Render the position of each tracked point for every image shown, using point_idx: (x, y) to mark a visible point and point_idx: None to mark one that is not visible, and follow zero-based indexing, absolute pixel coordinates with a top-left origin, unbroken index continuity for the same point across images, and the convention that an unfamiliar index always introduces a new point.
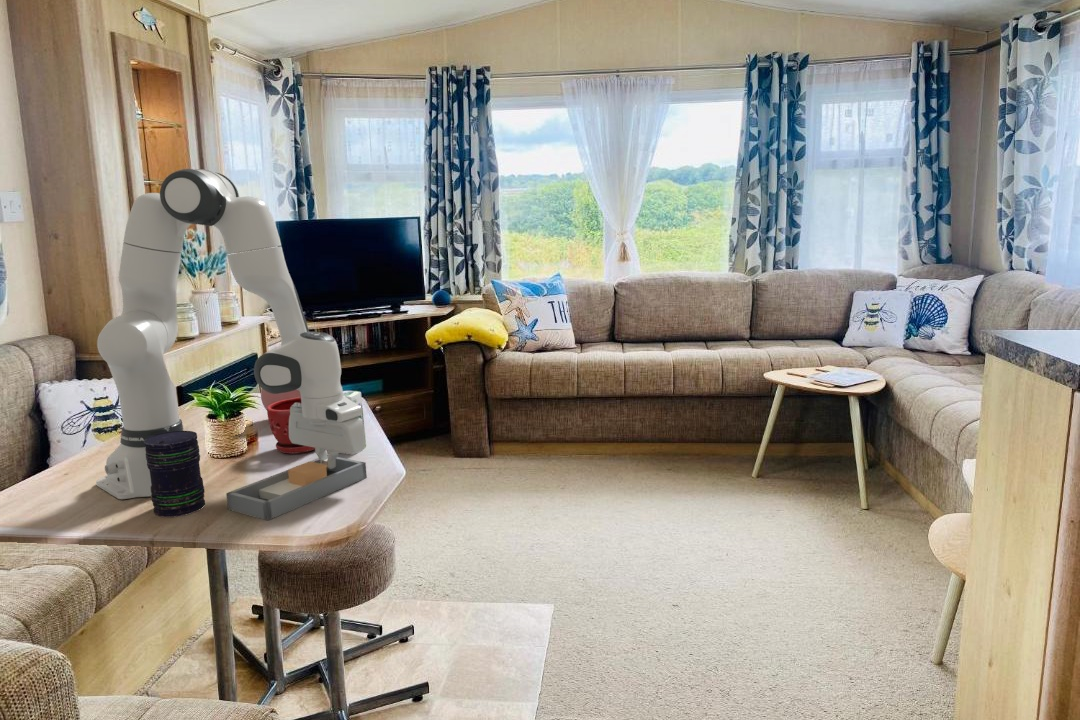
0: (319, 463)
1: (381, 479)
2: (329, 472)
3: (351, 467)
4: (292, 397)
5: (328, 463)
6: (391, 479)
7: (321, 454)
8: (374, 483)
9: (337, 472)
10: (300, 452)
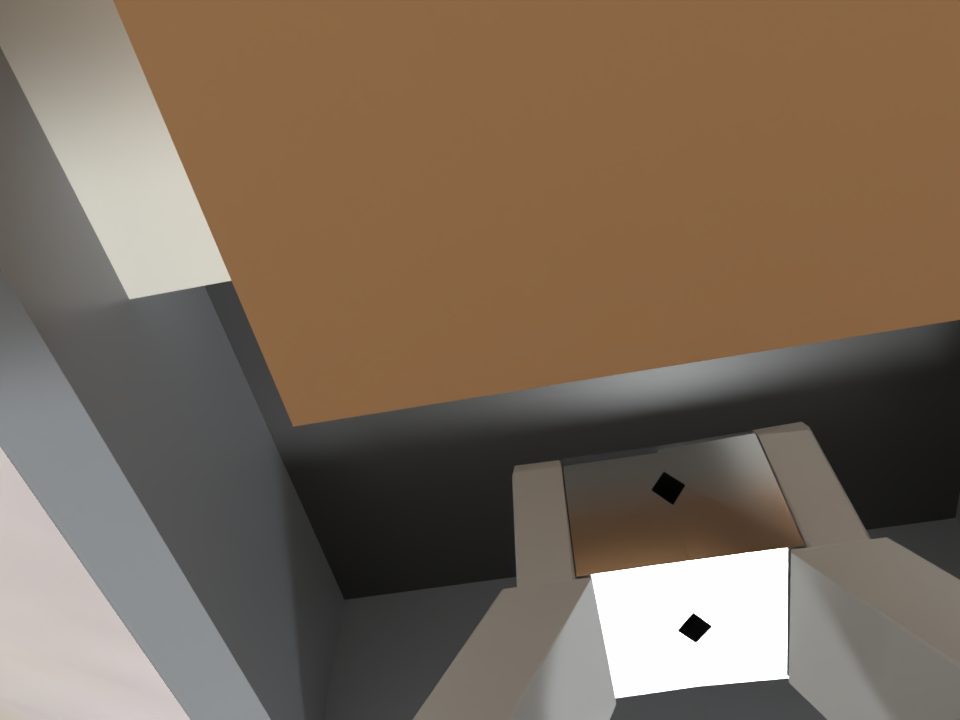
0: (559, 373)
1: (132, 672)
2: (862, 484)
3: (183, 664)
4: None
5: (553, 539)
6: (61, 714)
7: (921, 697)
8: (47, 586)
9: (61, 414)
10: None
